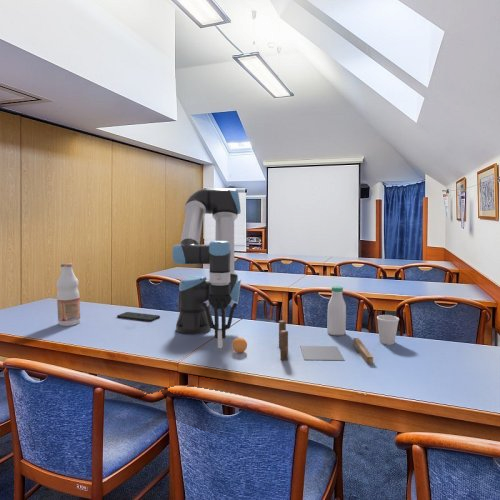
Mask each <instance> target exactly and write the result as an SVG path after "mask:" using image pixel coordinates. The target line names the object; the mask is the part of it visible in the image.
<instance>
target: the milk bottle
mask: <svg viewBox="0 0 500 500" xmlns="http://www.w3.org/2000/svg"><path fill="white" fill-rule="evenodd" d="M343 292H344V287H342V286H338V285H337V286H332V287H331V297H330V299H329V301H328V304H327V315H326V316H327V318H326V319H327V320H326V321H327V322H326V323H327V324H326V325H327V327H326V332H327V334H329V335H331V336H344V335H345V334H346V332H347V331H346V329H347V328H346V327H347V306H346V305H347V304H346V301H345V300H344V297H343V294H344V293H343Z"/></svg>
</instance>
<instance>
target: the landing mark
mask: <svg viewBox="0 0 500 500" xmlns="http://www.w3.org/2000/svg"><path fill="white" fill-rule="evenodd" d="M299 347H300V349H301V354H302V357H303V361H341V362H342V361H344V362H345V361H346V360H345V358H344V356H343V355H342V352H341V351H340V349H339V347H338V346H336V345H334V346H333V345H300V346H299Z"/></svg>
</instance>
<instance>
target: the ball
mask: <svg viewBox="0 0 500 500" xmlns="http://www.w3.org/2000/svg"><path fill="white" fill-rule="evenodd" d="M231 344H232V345H231V346H232V349H233V351H234V352H235V353H238V354H239V353H240V354H241V353H244V352H245V351H246V350H247V348H248V342H247V340H246V339H245V338H243V337H240V336H239V337H236V338H235V339H233V340H232V343H231Z"/></svg>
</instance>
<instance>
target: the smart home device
mask: <svg viewBox="0 0 500 500" xmlns="http://www.w3.org/2000/svg"><path fill="white" fill-rule="evenodd" d="M116 318H117V319H123V320H124V319H125V320H130V321H131V320H132V321H138V322H139V321H141V322H148V323H149V322H150V323H153V322H154V321H156V320H158V319H160V318H161V315H160V314H159V315H158V314H148V313H141V312H132V311H126V312H123V313H119V314H117V315H116Z"/></svg>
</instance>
